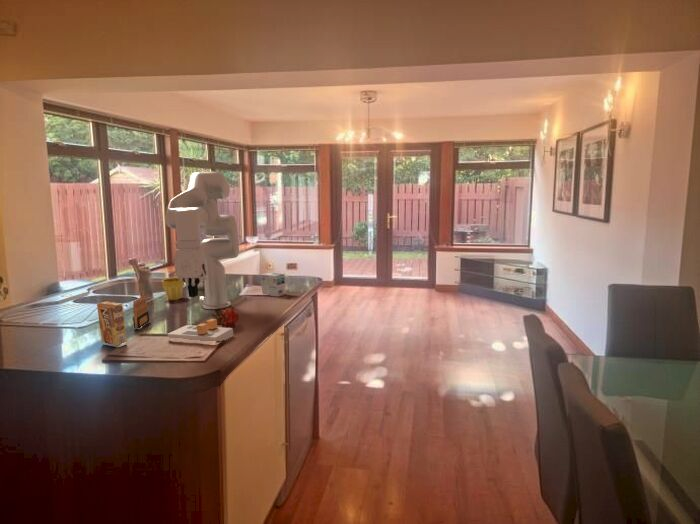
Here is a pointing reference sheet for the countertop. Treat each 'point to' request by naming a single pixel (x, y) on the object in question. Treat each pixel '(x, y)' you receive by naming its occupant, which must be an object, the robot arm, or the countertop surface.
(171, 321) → the countertop surface
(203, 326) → the switch tab
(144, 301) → the orange flat piece
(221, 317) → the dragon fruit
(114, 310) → the candy box
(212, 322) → the switch tab
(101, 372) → the countertop surface
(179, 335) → the switch panel
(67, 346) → the countertop surface
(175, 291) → the plant pot
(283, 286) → the light bulb box
